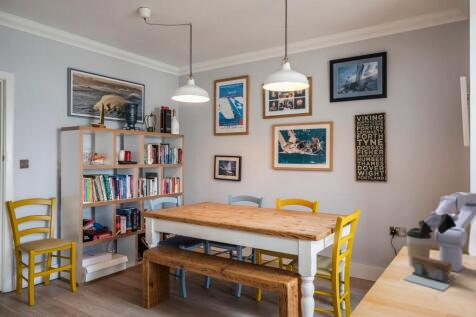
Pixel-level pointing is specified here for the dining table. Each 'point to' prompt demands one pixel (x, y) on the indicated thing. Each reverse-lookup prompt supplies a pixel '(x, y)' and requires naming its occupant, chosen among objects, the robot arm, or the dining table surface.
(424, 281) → the mat
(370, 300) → the dining table surface
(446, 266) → the rail
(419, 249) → the coffee cup
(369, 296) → the dining table surface
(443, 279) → the stand
